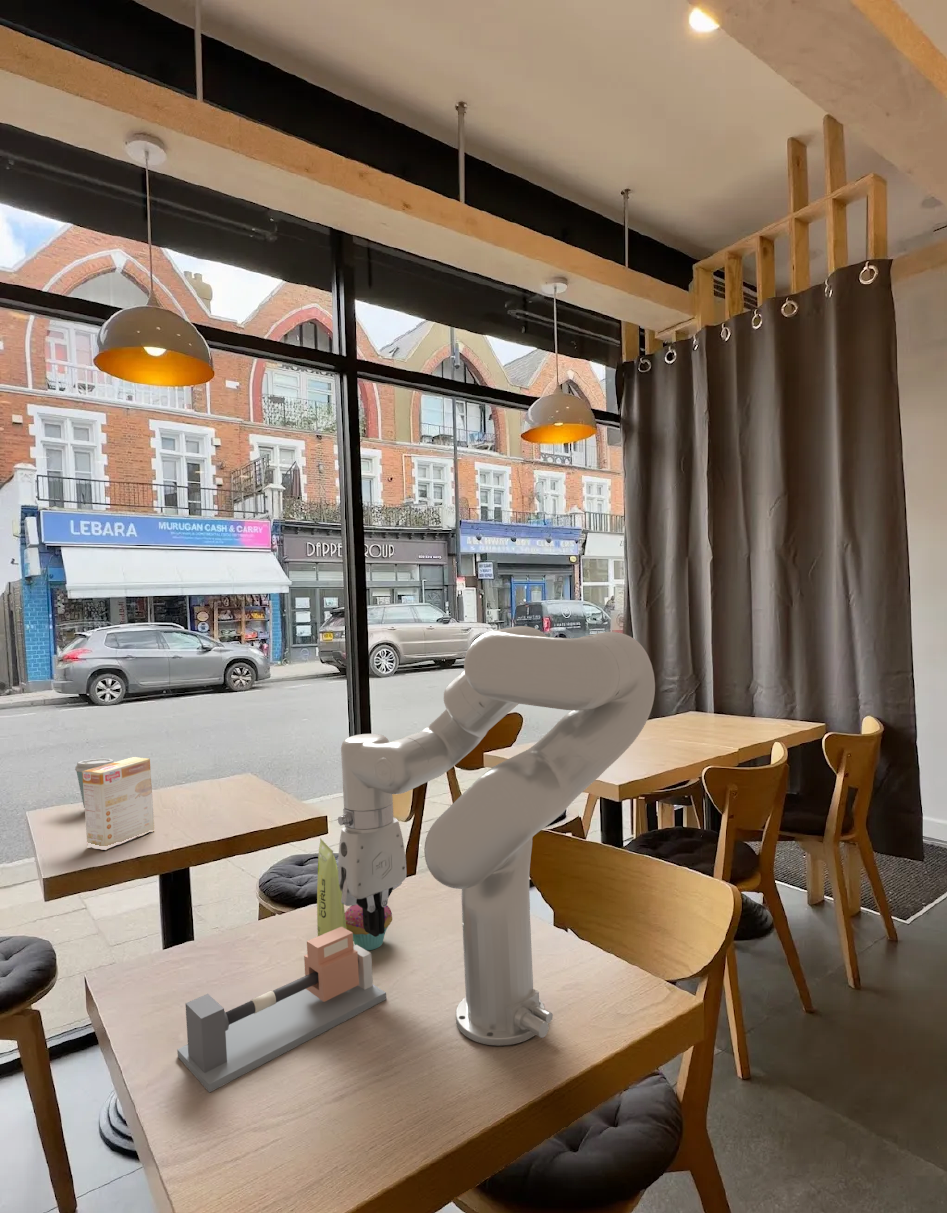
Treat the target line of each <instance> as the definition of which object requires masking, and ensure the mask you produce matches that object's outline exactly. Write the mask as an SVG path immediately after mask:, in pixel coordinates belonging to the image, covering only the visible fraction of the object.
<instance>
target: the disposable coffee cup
mask: <svg viewBox="0 0 947 1213" xmlns="http://www.w3.org/2000/svg"><path fill="white" fill-rule="evenodd" d="M114 762H116V761H115V760H114V759H112V758H91V759H85V760H80V761H78V762H77V763H76V766H75V769H74V770H75V772H76V775H77V780H78V785H79V790H80V796H81V800H82V804H83V809H84V808H85V805H84V791H83V777H82V771H85V770H89V769H92V768H96V767H99V766H103V765H106V764H110V763H114Z"/></svg>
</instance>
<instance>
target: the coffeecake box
mask: <svg viewBox="0 0 947 1213" xmlns="http://www.w3.org/2000/svg"><path fill="white" fill-rule="evenodd" d="M151 772H152V770H151V759H150V758H149V757H148V758H147V757H146V758H145V757H139V756H132V757H128V758H125V759H121V760H118V761H115V762H114V763H110V764H106V765H103V766H99V767H96V768H92V769H89V770H85V771H82V777H83V791H84V805H85V810H84V816H85V817H84V818H85V831H86V832H85V833H86V843H87V842H88V843H91V844H95V845H99V846H108V845H111V844H114V843H116V842H122V841H124V840H126V839H129V838H132V837H134V836H137V835H139V834H142V833H145V832H148V831H149V830H154V829H155V816H154V804H153V803H154V801H153V788H152V774H151ZM84 805H83V806H84Z"/></svg>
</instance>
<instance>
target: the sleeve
mask: <svg viewBox="0 0 947 1213" xmlns="http://www.w3.org/2000/svg"><path fill="white" fill-rule="evenodd" d="M353 946H354V941H353V933H352V932H351V931H349V930H347V929H345V928H343V927H339V928H337V929H334V930H332V931H330V932H327V933H325V934H323V935H320V936H318V935H317V936H315V937H313V938H311V939H309V940H308V939H307V940H306V952H307V953H306V954H304V955H303V960H304V974H305V975H304V976H306V975H308V974H311V973H313V972H315V971H316V972H318V978H319V983H317V984H315V985H313V986H311V987H309V988H306V989H307V990H308V991H310V992H311V993H312V994H314V995H315V996H316V997H318V998H319V999H321V1000H322V1001H323V1002H325V1001H327V1000H329V999H331V998H333V997H335V996H337V995H339V994H341V993H343V992H345V991H347V990H349V989H351V988H353V987H356V986H358V985H359V972H358V952H357V951H356V950H354V947H353Z"/></svg>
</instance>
